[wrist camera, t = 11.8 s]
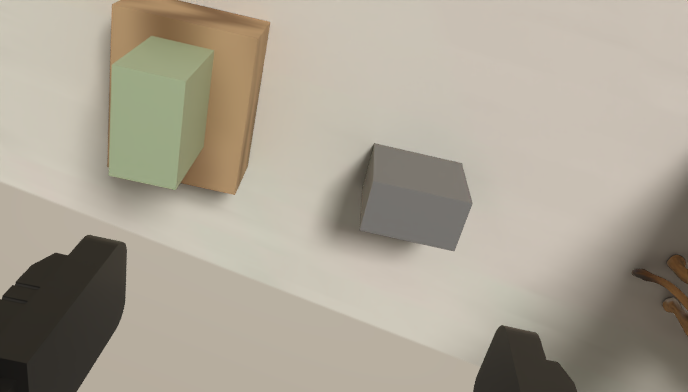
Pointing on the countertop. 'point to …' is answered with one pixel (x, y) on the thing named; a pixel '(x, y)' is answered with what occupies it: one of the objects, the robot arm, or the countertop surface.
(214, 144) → the oak block
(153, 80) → the sage brick
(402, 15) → the countertop surface
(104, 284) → the robot arm
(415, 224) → the charcoal brick
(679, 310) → the lion figurine
